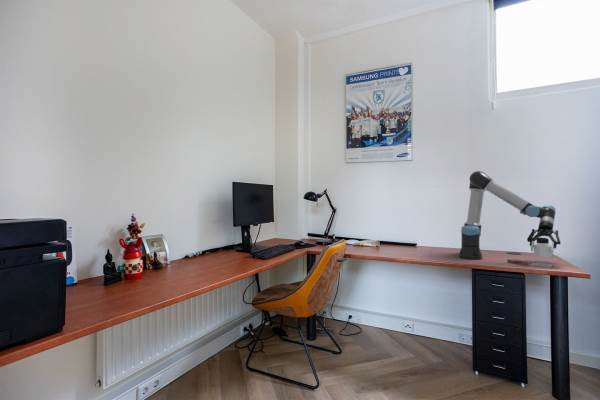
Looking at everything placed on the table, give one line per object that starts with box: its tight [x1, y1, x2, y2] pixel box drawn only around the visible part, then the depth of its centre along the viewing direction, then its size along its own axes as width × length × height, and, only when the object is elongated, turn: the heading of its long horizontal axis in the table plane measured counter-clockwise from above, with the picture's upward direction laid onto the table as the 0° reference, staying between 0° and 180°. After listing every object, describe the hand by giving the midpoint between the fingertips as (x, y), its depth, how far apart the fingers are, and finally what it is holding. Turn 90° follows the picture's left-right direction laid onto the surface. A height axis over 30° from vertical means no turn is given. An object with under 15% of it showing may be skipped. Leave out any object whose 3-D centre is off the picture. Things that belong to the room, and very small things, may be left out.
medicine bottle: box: [533, 237, 553, 258], centre depth 194 cm, size 7×7×12 cm
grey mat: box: [530, 262, 554, 269], centre depth 194 cm, size 10×10×1 cm
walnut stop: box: [507, 259, 529, 266], centre depth 200 cm, size 11×1×2 cm, turn 42°
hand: (541, 250), depth 192 cm, fingers closed on medicine bottle, 10 cm apart
